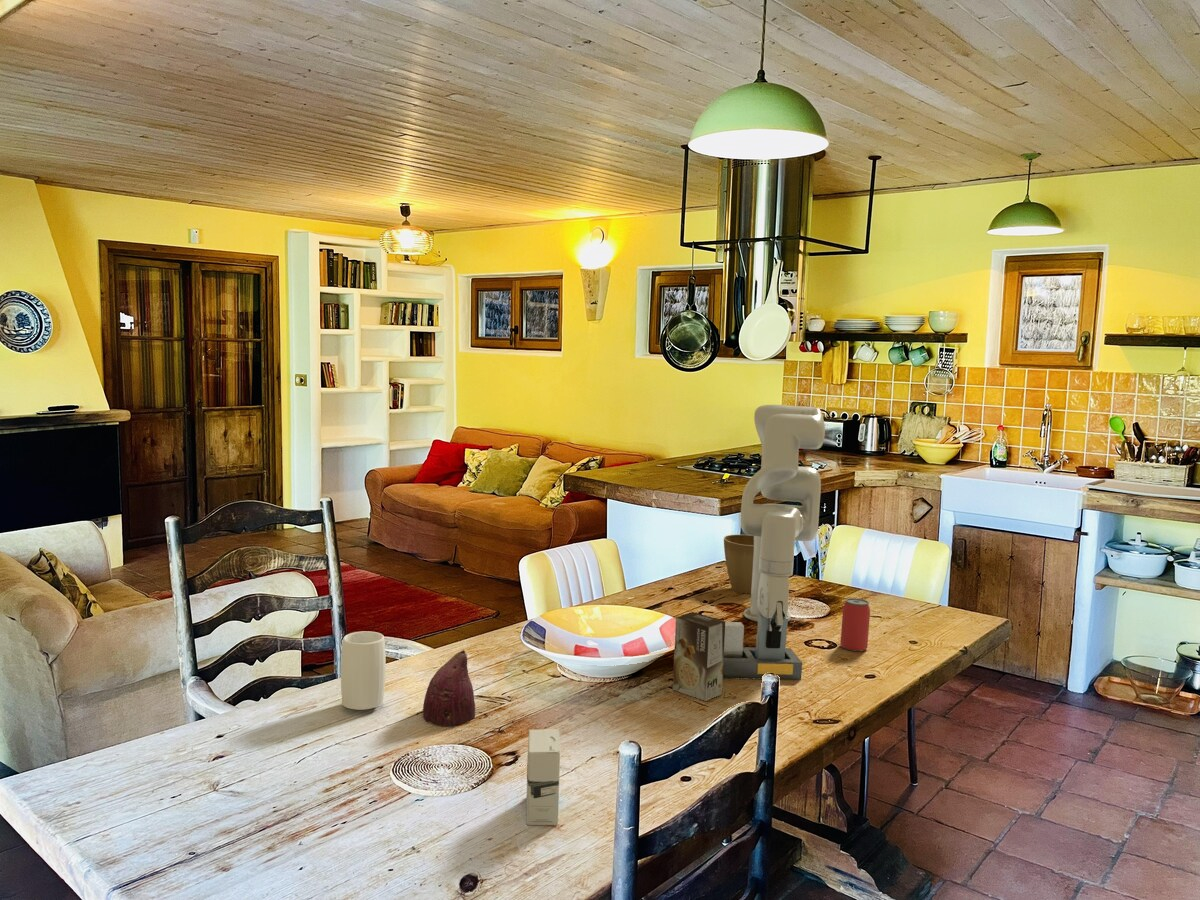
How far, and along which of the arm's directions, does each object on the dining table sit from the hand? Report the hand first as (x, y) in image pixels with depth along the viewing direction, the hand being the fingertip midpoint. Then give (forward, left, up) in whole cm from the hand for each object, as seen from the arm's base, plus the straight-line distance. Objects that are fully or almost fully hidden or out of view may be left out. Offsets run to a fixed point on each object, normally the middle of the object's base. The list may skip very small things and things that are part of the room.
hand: (770, 644), depth 205 cm
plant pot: (-69, +10, -7) cm, 70 cm away
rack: (0, -5, -6) cm, 8 cm away
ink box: (+63, -52, -7) cm, 82 cm away
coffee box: (+13, -19, -7) cm, 24 cm away
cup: (+24, -87, -7) cm, 90 cm away
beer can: (-18, +26, -7) cm, 32 cm away
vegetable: (+27, -70, -7) cm, 75 cm away
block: (0, 0, -3) cm, 3 cm away
